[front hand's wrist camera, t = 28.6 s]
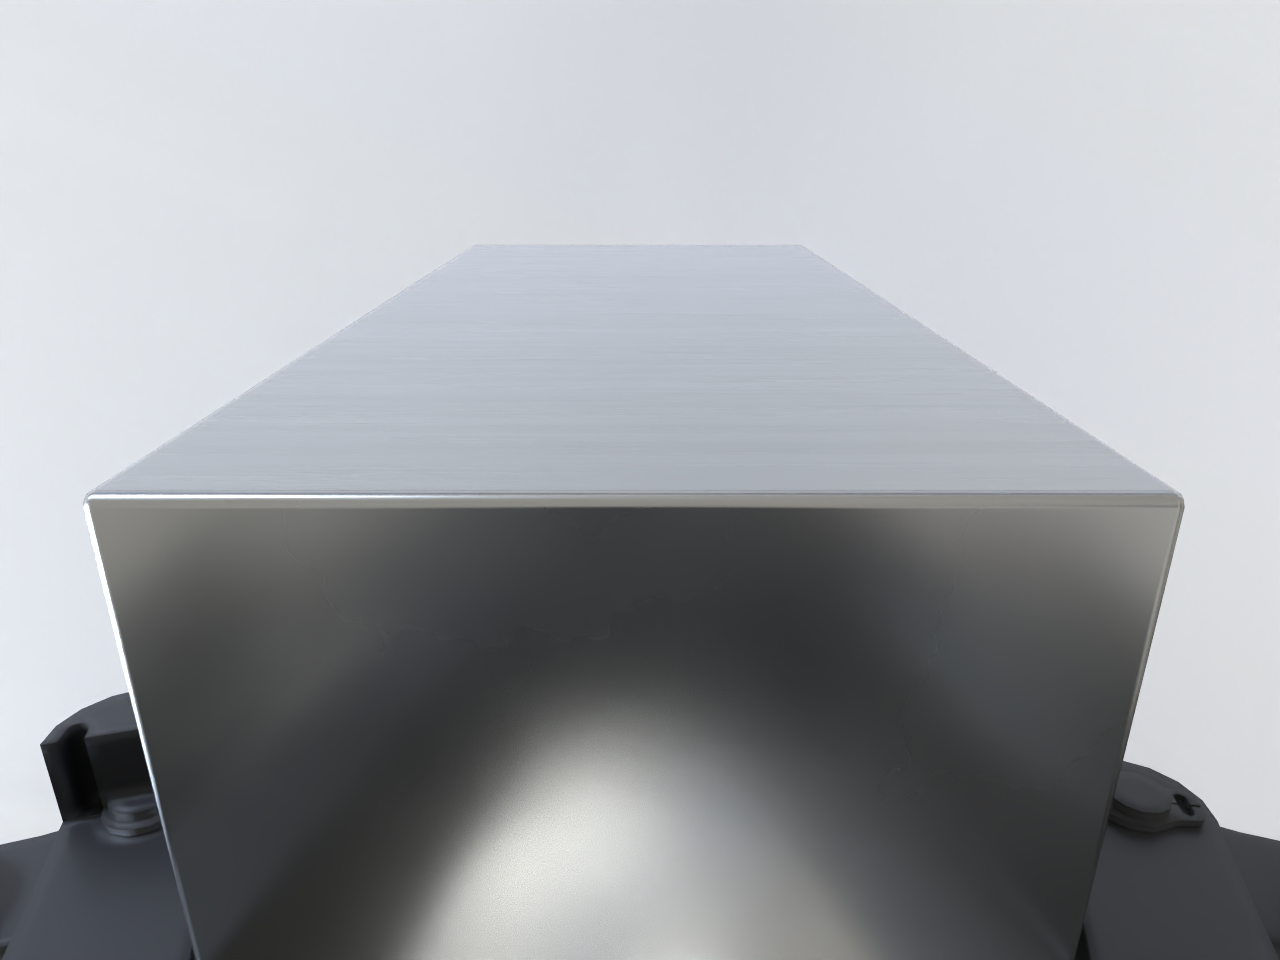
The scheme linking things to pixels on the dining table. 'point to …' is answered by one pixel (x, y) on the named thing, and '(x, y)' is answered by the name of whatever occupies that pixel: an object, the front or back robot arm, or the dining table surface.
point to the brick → (634, 627)
